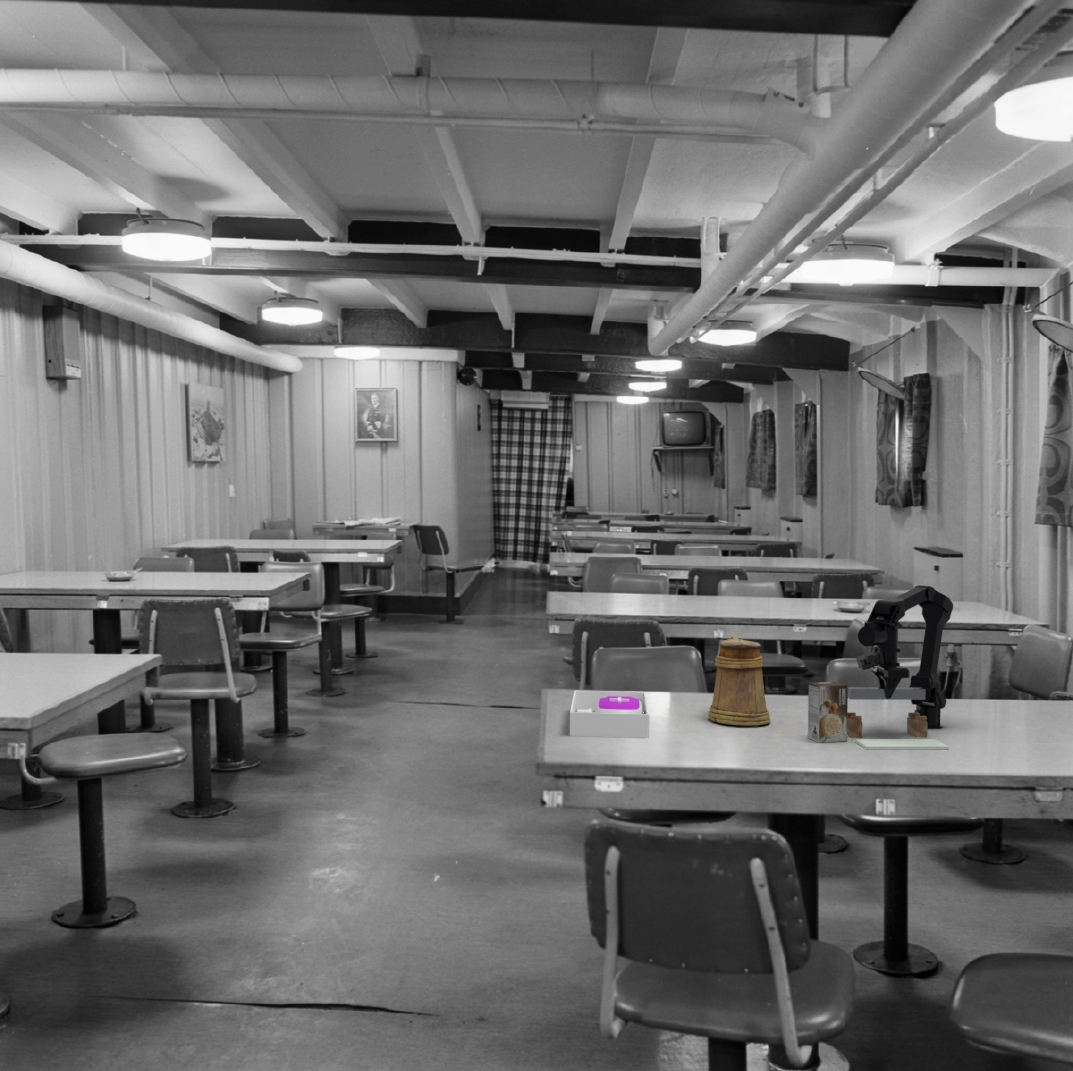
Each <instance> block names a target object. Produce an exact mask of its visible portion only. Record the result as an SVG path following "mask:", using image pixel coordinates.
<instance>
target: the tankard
mask: <svg viewBox="0 0 1073 1071" xmlns="http://www.w3.org/2000/svg"><path fill="white" fill-rule="evenodd" d="M718 645H719V651H718V654H717V655H716V658H715V662H714V663H715V664H714V666H716V675H715V682H714V690H713V696H712V704H711V705H710V706H709V711H708V717H709V720H711V722H713V723H718V724H723V725H729V726H730V725H731V726H762V725H767V724H769V723H771V719H770V715H771V714H770V711H769V709H768V708H767V703H766V702H767V701H766V695H765V686H764V677H763V675H764V674H763V668H762V667H763V666H764V663H763V662H764V659H763V656H762V655H761V652H760V648H761V643H759V642H757V641H750V640H745V639H741V638H740V639H739V637H738V635H737V634H736V635H735V634H732V635H731V638H728V639H724V640H721V641H720V642H719V644H718Z"/></svg>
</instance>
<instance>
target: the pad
mask: <svg viewBox="0 0 1073 1071" xmlns="http://www.w3.org/2000/svg"><path fill="white" fill-rule="evenodd" d="M854 743H856V744H857V745H858V746H860V747H862V748H863V749H865V750H882V751H883V750H885V751H886V750H893V751H894V750H899V751H900V750H901V751H902V750H906V751H907V750H910V751H911V750H917V751H918V750H920V751H921V750H924V751H925V750H930V749H949V750H950V746H948V745H946V744H945V743H943V742H942V741H939V740H937V739H935V738H930V739H929V738H901V739H900V738H854Z"/></svg>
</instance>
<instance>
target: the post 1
mask: <svg viewBox="0 0 1073 1071" xmlns="http://www.w3.org/2000/svg"><path fill="white" fill-rule="evenodd" d="M862 718H863V717H862V715H857V713H856V712H854V711H853V712H851V711H849V712H848V711H847V737H850V738H851V739H863V720H862Z"/></svg>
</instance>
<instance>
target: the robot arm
mask: <svg viewBox="0 0 1073 1071" xmlns="http://www.w3.org/2000/svg"><path fill="white" fill-rule="evenodd" d="M917 606H919V607H920V608H921V615H922V617H923V619H924V620H923V621H924V623H925V628H924V635H923V642H922V649H921V657H920V663H919V670H918V672H917V673H916V674H915V675H911V674H910V673H911V672H910V670H909V669H908V667H905V666H902V665H901V663H900V662H898V656H899V655H898V653H901V648H900V647H899V646H898V645H899V629H901V628H903V625H902V624H901V623H900V622H899V621H900V620H901V619H903V618H904V616H905V615H906V612H907V611H908V610H910V609H912V608H915V607H917ZM953 609H954V603H953V601H952V600H951V598H950V597H948V596H947V595H945V594H943V593H941V592H939V591H938V590H937V589H935V588H934V587H933V586H931V585H921V584H920V585H916V586H915V587H914V588H912V589H910V590H908V591H906V592H904V593H901V594H900V595H898V596H896V597H893V598H882V599H879V600H877V601H876V602H875V603H874V606H873V607H872V609H871V611H870V614H869V616H868V618H867V620H866V622H865V621H864V623H863V624H864V625H863V626H862V627H861V628H860V629H859V631H858V633H857V639H858V641H859V643H860V645H862V646H864V647H872V648H873V650H872V652H868V653H864V654H862V655H859V656H857V657H855V660H856V662H857V665H858V668H859V669H862V671H867V670H870V673H871V674H873V676H875V678H876V680H877V684H878V687H885V694H886V699H890V698H891V697H892V695H893V693H894V691H895V689H896V687H898V685H899V684H900V682H901V681H902V679H910V684H909V687H921V688H924V689H926V692H925V700H910V704H911V705H916V706H915V709H914V712H913V713H920V716H926V717H927V721H926V722H928V723H927V729H943V726H942V725H941V709H942V710H943V709H944V708H946V705H947V699H946V697H945V696H944V694H943V692H942V691H941V687H942V686H941V684H942V683H941V681H940V678H939V676H938V673H937V672H938V665H939V658H940V652H941V646H942V638H943V630H944V626H945V625H947V623H948V622H949V620H950V619H951V616H952V613H953V611H954V610H953ZM871 668H872V670H871ZM910 676H911V678H910Z"/></svg>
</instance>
